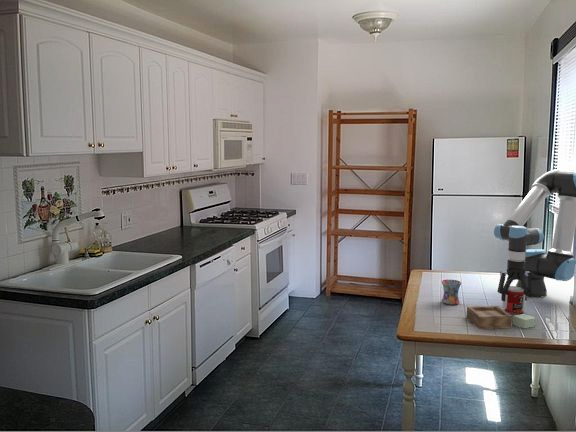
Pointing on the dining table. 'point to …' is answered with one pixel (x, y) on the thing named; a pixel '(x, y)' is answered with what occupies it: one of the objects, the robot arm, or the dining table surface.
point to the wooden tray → (489, 317)
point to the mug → (450, 291)
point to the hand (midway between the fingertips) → (513, 307)
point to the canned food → (515, 300)
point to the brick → (524, 321)
